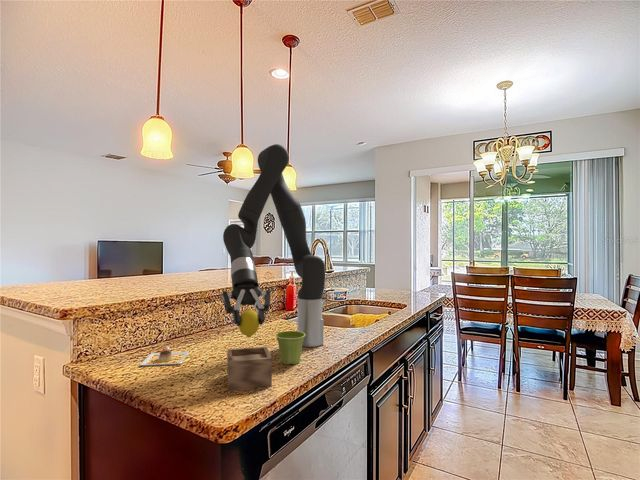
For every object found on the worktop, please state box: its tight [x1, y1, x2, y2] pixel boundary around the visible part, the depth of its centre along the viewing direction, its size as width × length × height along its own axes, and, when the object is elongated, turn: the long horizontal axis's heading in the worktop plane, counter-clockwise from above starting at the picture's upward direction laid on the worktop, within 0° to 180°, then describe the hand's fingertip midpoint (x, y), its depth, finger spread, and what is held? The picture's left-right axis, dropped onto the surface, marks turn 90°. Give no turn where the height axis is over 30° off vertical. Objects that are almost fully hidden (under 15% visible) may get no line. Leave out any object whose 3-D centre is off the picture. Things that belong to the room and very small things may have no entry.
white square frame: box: [139, 345, 189, 367], centre depth 111 cm, size 12×12×5 cm
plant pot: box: [275, 330, 305, 365], centre depth 110 cm, size 9×9×9 cm
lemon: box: [238, 308, 260, 338], centre depth 95 cm, size 6×6×8 cm
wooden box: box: [226, 346, 273, 392], centre depth 95 cm, size 11×11×8 cm
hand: (250, 323), depth 93 cm, fingers closed on lemon, 5 cm apart
